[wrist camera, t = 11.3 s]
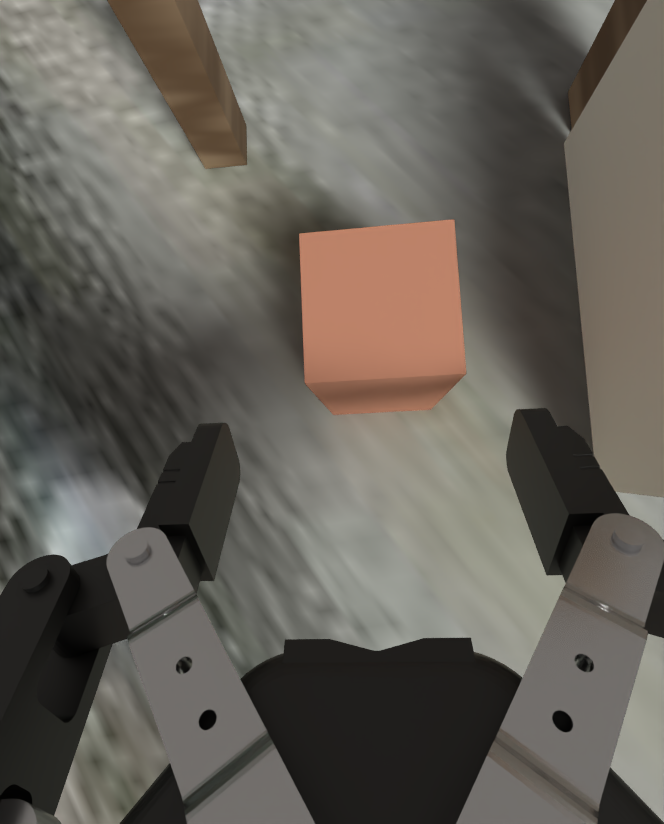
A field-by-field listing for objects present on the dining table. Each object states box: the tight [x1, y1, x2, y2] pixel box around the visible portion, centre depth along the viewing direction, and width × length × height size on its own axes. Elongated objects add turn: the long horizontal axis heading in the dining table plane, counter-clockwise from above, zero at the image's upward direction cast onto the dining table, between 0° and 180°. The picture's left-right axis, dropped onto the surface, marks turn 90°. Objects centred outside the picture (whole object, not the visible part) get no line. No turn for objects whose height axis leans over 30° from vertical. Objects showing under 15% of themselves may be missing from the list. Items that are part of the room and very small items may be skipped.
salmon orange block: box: [299, 219, 466, 415], centre depth 19 cm, size 5×5×10 cm
